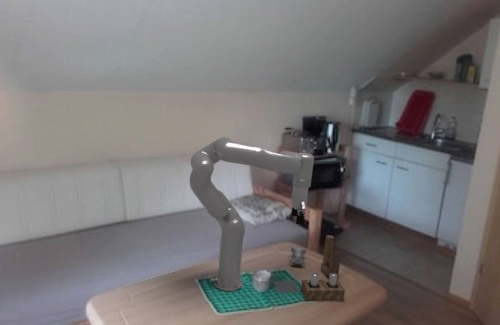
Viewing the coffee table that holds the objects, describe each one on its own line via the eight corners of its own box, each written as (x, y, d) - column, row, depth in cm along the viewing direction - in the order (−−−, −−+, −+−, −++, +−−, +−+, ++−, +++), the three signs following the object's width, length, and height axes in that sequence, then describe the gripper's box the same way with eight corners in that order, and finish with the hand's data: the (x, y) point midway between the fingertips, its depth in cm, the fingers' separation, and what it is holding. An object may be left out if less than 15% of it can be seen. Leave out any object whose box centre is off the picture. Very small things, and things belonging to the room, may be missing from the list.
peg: (310, 297, 186) (312, 276, 184) (308, 293, 189) (310, 272, 187) (317, 297, 187) (319, 276, 184) (315, 293, 190) (317, 272, 187)
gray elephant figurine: (290, 269, 210) (292, 255, 208) (283, 257, 221) (285, 243, 219) (308, 269, 212) (311, 255, 210) (301, 257, 223) (303, 243, 221)
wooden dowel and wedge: (330, 281, 202) (335, 244, 197) (320, 270, 212) (324, 234, 207) (338, 280, 203) (342, 244, 199) (327, 269, 213) (331, 234, 209)
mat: (277, 293, 187) (277, 292, 187) (272, 281, 197) (272, 280, 197) (300, 293, 189) (300, 292, 189) (294, 281, 199) (294, 280, 199)
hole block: (306, 301, 183) (307, 290, 182) (300, 290, 192) (302, 279, 190) (343, 301, 185) (344, 290, 184) (336, 290, 194) (337, 279, 193)
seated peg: (328, 297, 187) (331, 276, 185) (326, 293, 190) (329, 272, 188) (335, 297, 188) (338, 276, 186) (333, 293, 191) (335, 272, 188)
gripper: (289, 176, 196) (284, 212, 200) (297, 187, 179) (292, 227, 183) (305, 177, 197) (301, 213, 201) (315, 188, 180) (310, 227, 184)
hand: (297, 219), depth 192 cm, fingers open, 9 cm apart
